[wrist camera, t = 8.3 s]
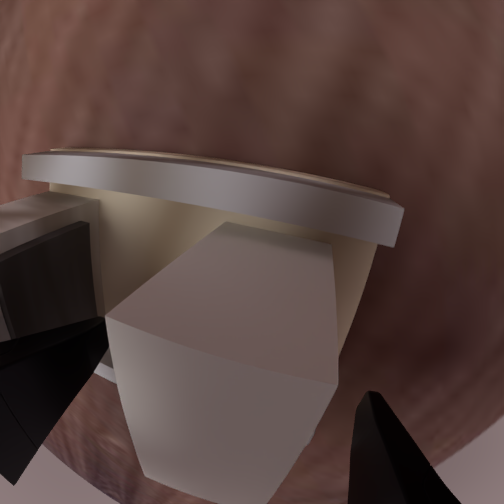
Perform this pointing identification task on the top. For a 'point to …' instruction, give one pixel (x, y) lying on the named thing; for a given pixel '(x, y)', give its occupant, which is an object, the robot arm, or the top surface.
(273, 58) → the top surface
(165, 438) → the block
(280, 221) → the beige clamp block
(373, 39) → the top surface
